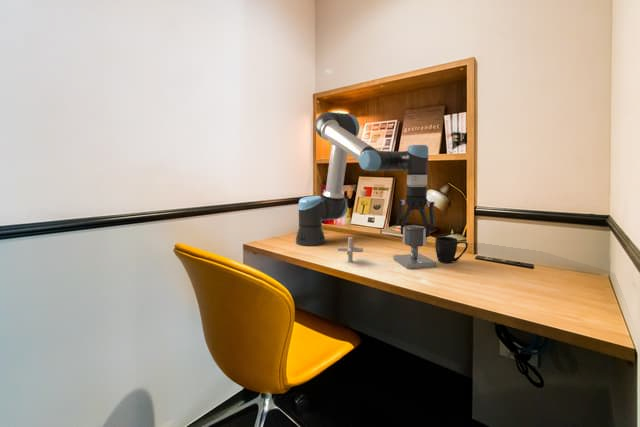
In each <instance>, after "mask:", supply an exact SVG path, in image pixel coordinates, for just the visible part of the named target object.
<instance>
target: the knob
mask: <svg viewBox="0 0 640 427" xmlns="http://www.w3.org/2000/svg"><path fill="white" fill-rule="evenodd" d="M405 226H406V229H405V243H404V244H405V245H406V246H409V247H411V246H414V247H418V248H419V247H423V230H424V229H425V226H424V225H417V224H410V225H405Z"/></svg>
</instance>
